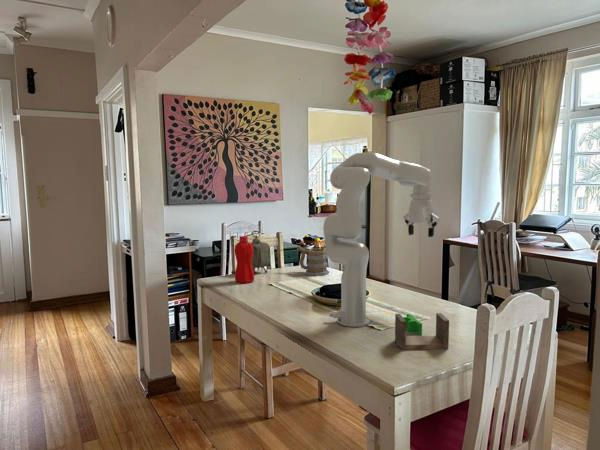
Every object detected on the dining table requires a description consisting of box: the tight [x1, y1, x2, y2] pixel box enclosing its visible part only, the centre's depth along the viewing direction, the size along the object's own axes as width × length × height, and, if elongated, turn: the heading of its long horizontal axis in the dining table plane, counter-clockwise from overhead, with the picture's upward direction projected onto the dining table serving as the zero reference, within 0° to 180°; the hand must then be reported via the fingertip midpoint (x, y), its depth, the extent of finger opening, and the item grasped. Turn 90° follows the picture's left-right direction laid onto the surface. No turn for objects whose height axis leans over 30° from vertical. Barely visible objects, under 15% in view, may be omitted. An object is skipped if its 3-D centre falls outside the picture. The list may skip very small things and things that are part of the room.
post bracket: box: [394, 312, 450, 350], centre depth 150 cm, size 16×8×10 cm, turn 91°
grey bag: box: [250, 230, 271, 274], centre depth 264 cm, size 14×9×25 cm, turn 49°
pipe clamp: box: [402, 313, 423, 336], centre depth 164 cm, size 11×4×5 cm, turn 10°
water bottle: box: [233, 235, 255, 284], centre depth 240 cm, size 9×11×25 cm
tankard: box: [296, 246, 330, 277], centre depth 262 cm, size 20×13×15 cm, turn 58°
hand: (420, 235), depth 198 cm, fingers open, 9 cm apart
